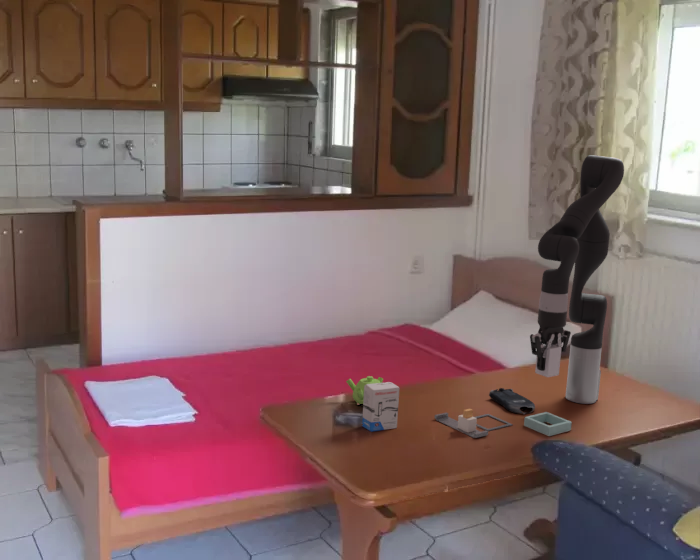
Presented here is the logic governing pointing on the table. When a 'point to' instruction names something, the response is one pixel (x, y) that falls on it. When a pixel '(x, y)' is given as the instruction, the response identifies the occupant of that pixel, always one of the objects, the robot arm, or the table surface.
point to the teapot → (362, 387)
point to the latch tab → (467, 421)
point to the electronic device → (511, 400)
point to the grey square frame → (494, 427)
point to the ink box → (380, 406)
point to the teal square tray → (538, 424)
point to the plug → (551, 362)
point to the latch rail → (454, 424)
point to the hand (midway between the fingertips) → (547, 368)
